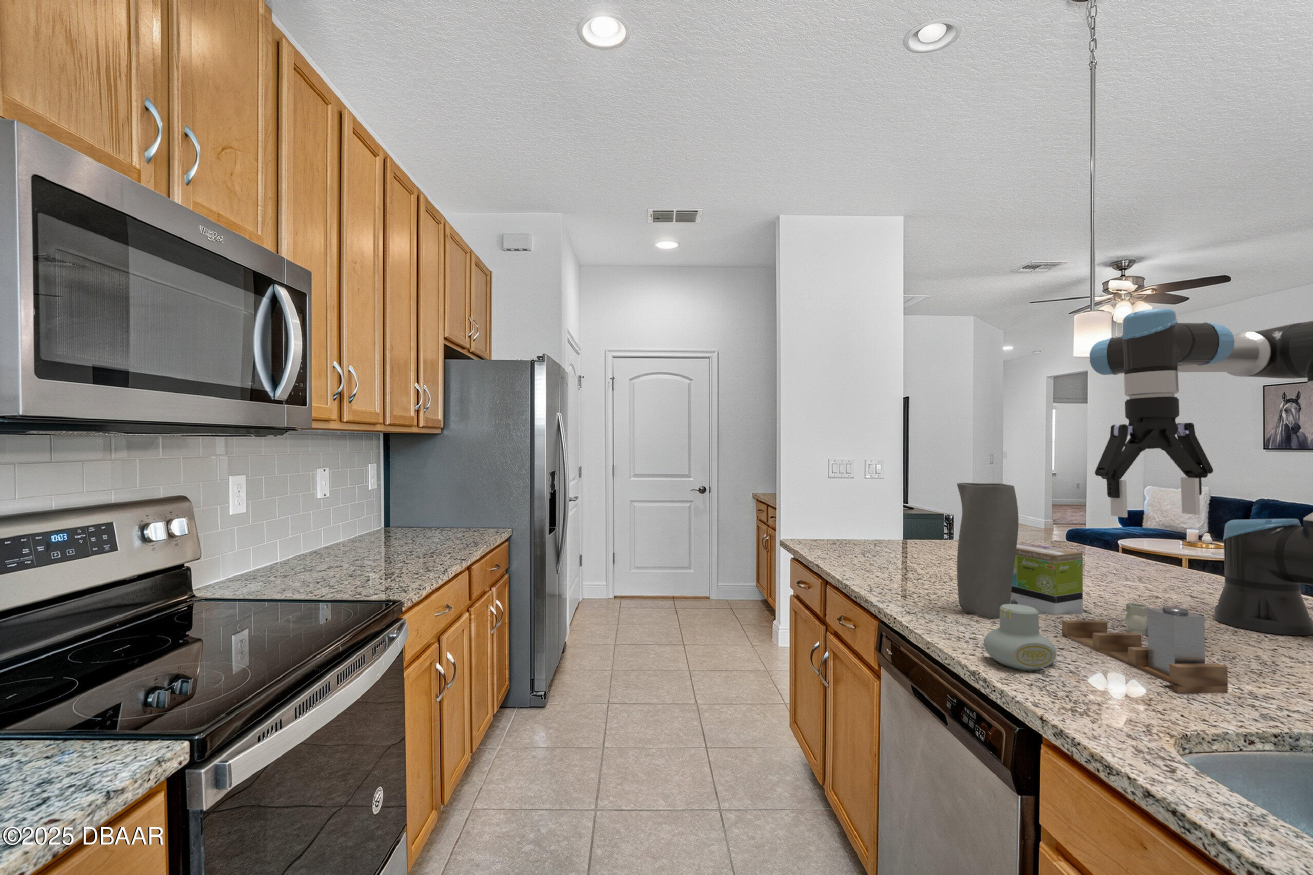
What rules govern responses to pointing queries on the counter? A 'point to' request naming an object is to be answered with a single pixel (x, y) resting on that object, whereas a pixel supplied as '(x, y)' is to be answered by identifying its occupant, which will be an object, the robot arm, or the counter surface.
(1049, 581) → the tea box
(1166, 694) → the counter surface
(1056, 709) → the counter surface
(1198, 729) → the counter surface
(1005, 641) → the air freshener
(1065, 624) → the wooden compartment tray
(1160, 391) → the robot arm
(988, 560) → the vase
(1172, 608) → the block
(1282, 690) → the counter surface
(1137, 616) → the valve
